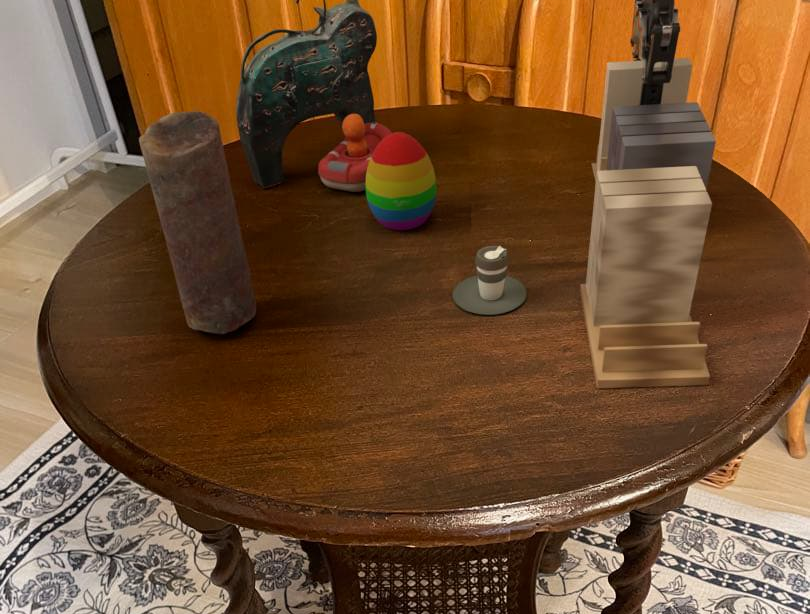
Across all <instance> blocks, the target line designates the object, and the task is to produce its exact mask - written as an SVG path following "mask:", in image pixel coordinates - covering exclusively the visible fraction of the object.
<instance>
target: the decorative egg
mask: <svg viewBox="0 0 810 614" xmlns="http://www.w3.org/2000/svg"><path fill="white" fill-rule="evenodd" d="M436 178H437V177H436V173H435V168H434V165H433V163H432V161H431V158H430V156H429V155H428V153H427V151H426V149H425V148H424V147H423V146H422V145H421V143H420V142H419V141H418V140H417V139H416V138H414V137H413V136H412V135H410V134H409V133H405V132H401V131H395V132H392V133H391V134H389V135H387V136H386V137H385V138H383V139H382V140H381V142H380V143H379V144H378V145H377V147H376V148H375V150H374V152H373V154H372V156H371V158H370V161H369V164H368V168H367V173H366V190H365V196H366V201H367V204H368V206H369V210H370V212H371V213H372V215H373V216H374V218H375V219H376V221H377V222H378V223H379V224H380V225H382V227H385V228H386V229H389V230H393V231H408V230H409V231H410V230H413V229H417V228H419V227H420V226H422V225H423V224H424V223H425V222H426V221H427V220H428V219H429V217H430V215H431V214H432V211H433V209H434V207H435V203H436V198H437V179H436Z"/></svg>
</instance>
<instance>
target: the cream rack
mask: <svg viewBox="0 0 810 614" xmlns="http://www.w3.org/2000/svg"><path fill="white" fill-rule="evenodd" d="M594 187H595V188H594V198H593V207H592V217H591V228H590V239H589V247H588V256H587V257H588V258H587V269H586V278H585V283H580V284H579V296H580V301H581V307H582V308H581V309H582V314H583V319H584V324H585V330H586V335H587V341H588V347H589V352H590V359H591V364H592V370H593V375H594V380H595V386H596V389H624V388H653V387H654V388H657V387H684V386H686V387H687V386H708V385H709V383H710V380H711V375H710V374H711V373H710V372H709V368H708V365H707V362H706V355H707V351H708V344H707V343H700V341H699V333H700V327H701V322H700V321H693V319H692V316H691V309H692V303H693V298H694V295H695V294H694V293H695V289H696V285H697V279H698V275H699V274H698V273H699V269H700V264H701V260H702V254H703V250H704V246H705V241H706V235H707V231H708V226H709V221H710V216H711V211H712V207H713V202H712V200H711V197H710V195H709V192H708V191H707V188H705V186H704V183H703V181H702V179H701V176H700V174H699V171H698V169H697V167H696V166H685V167H665V168H645V169H625V170H605V171H597V176H596V181H595V186H594Z"/></svg>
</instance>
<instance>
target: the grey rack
mask: <svg viewBox="0 0 810 614" xmlns="http://www.w3.org/2000/svg"><path fill="white" fill-rule="evenodd" d="M716 143H717V140H716V139H715V136H714V134H713V132H712V129H711V127H710V126H709V123H708V122H707V119H706V117H705V115H704V113H703V111H702V109H701V107H700V105H699V103H698V101H693V102H686V103H673V104H655V105H637V106H619V107H613V111H612V120H611V130H610V139H609V148H608V157H601V165H600V171H605V170H625V169H645V168H665V167H685V166H696V167H697V169H698V171H699V174H700V176H701V179H702V181H703V183H704V186H705V188H706V189H708V182H709V179H710V178H709V177H710V173H711V168H712V164H713V163H712V162H713V158H714V152H715V148H716ZM598 150H599V144H598V145H597V153H596V159H595V162H591V168H592V172H593V177H594V180H595V182H596V176H597V161H598Z"/></svg>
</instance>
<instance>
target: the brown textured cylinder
mask: <svg viewBox="0 0 810 614" xmlns="http://www.w3.org/2000/svg"><path fill="white" fill-rule="evenodd" d="M138 142H139V146H140V151H141V154H142V158H143V162H144V165H145V169H146V172H147V177H148V180H149V184H150V188H151V191H152V195H153V198H154V202H155V207H156V210H157V213H158V217H159V221H160V224H161V228H162V231H163V235H164V239H165V244H166V247H167V250H168V255H169V258H170V262H171V266H172V270H173V274H174V278H175V281H176V285H177V290H178V293H179V298H180V301H181V305H182V309H183V311H184V312H183V313H184V316H185V320H186V323H187V326H188V328H190V329H192V330H194V331H202V332H205V333H210V334H217V335H219V334H220V335H226V334H227V333H231V332H234V331H236V330H238V329H239V328H240V327H241V326H243V325H245V324H246V323H248V322H250V321H251V320H252V319H253V318H254V317H256V313H257V303H256V297H255V292H254V288H253V282H252V277H251V273H250V268H249V263H248V259H247V253H246V249H245V243H244V240H243V236H242V232H241V231H242V230H241V227H240V222H239V217H238V212H237V208H236V203H235V198H234V193H233V189H232V183H231V178H230V173H229V168H228V164H227V157H226V153H225V149H224V148H225V147H224V144H223V140H222V134H221V129H220V124H219V122H218V119H216V118H215V117H213V116H212V115H210V114H207V113H206V112H202V111H199V110H193V111H181V112H180V111H176V112H171V113H170V114H167V115H164V116H163V117H161V118H159V119H158V120H155V121H154V122H152V123H151V124H150V125H148V127H147V128H146V129H145V132H144V134H142V135H141V136H139V137H138Z"/></svg>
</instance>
